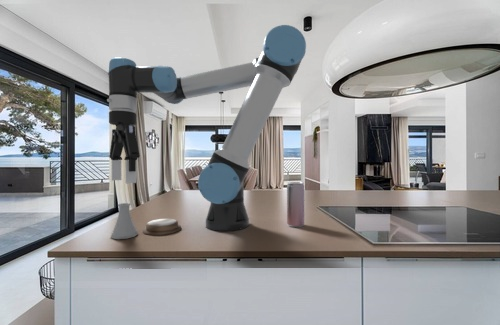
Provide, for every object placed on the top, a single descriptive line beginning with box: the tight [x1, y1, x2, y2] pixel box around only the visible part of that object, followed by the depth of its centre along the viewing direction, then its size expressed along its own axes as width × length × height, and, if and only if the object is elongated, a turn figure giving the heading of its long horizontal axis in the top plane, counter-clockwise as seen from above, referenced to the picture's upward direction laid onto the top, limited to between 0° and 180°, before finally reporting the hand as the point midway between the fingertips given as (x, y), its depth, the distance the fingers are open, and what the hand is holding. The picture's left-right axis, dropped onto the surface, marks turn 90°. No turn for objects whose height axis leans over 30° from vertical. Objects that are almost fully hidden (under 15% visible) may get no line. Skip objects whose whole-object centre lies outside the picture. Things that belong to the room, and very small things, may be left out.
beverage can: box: [286, 181, 305, 228], centre depth 89 cm, size 6×6×15 cm
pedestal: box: [142, 218, 182, 236], centre depth 84 cm, size 12×12×3 cm
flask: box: [110, 202, 139, 240], centre depth 78 cm, size 7×7×10 cm
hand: (123, 181), depth 78 cm, fingers open, 13 cm apart
